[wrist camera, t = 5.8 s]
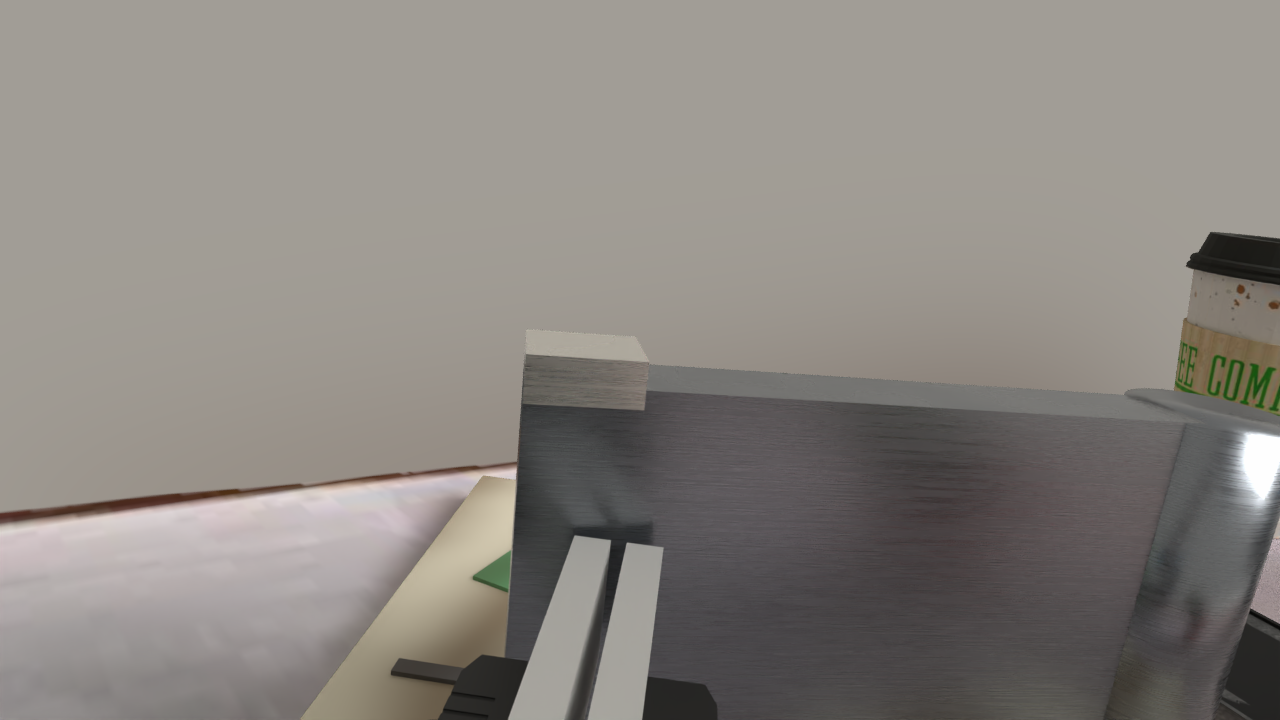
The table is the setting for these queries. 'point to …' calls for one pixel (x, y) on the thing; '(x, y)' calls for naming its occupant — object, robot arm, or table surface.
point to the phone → (1254, 673)
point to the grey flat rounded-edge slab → (899, 535)
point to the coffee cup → (1234, 323)
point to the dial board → (432, 619)
